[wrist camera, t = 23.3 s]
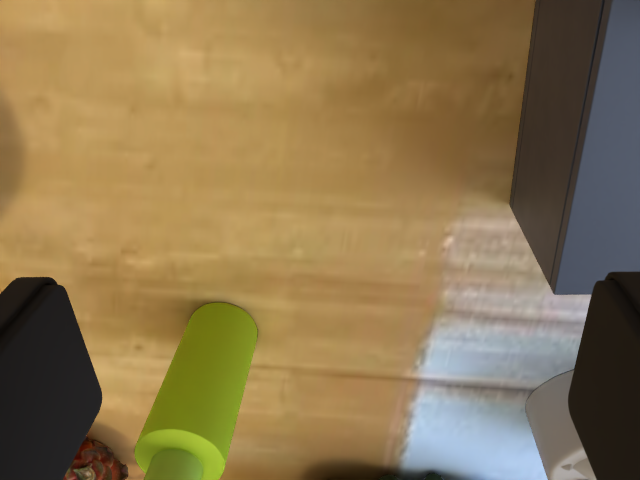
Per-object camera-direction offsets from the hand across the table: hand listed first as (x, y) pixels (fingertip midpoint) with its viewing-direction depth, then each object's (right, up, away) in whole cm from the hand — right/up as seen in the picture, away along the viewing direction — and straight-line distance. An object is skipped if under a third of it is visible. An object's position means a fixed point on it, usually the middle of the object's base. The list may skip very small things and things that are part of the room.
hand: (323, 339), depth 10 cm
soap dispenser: (-9, -6, +37) cm, 39 cm away
